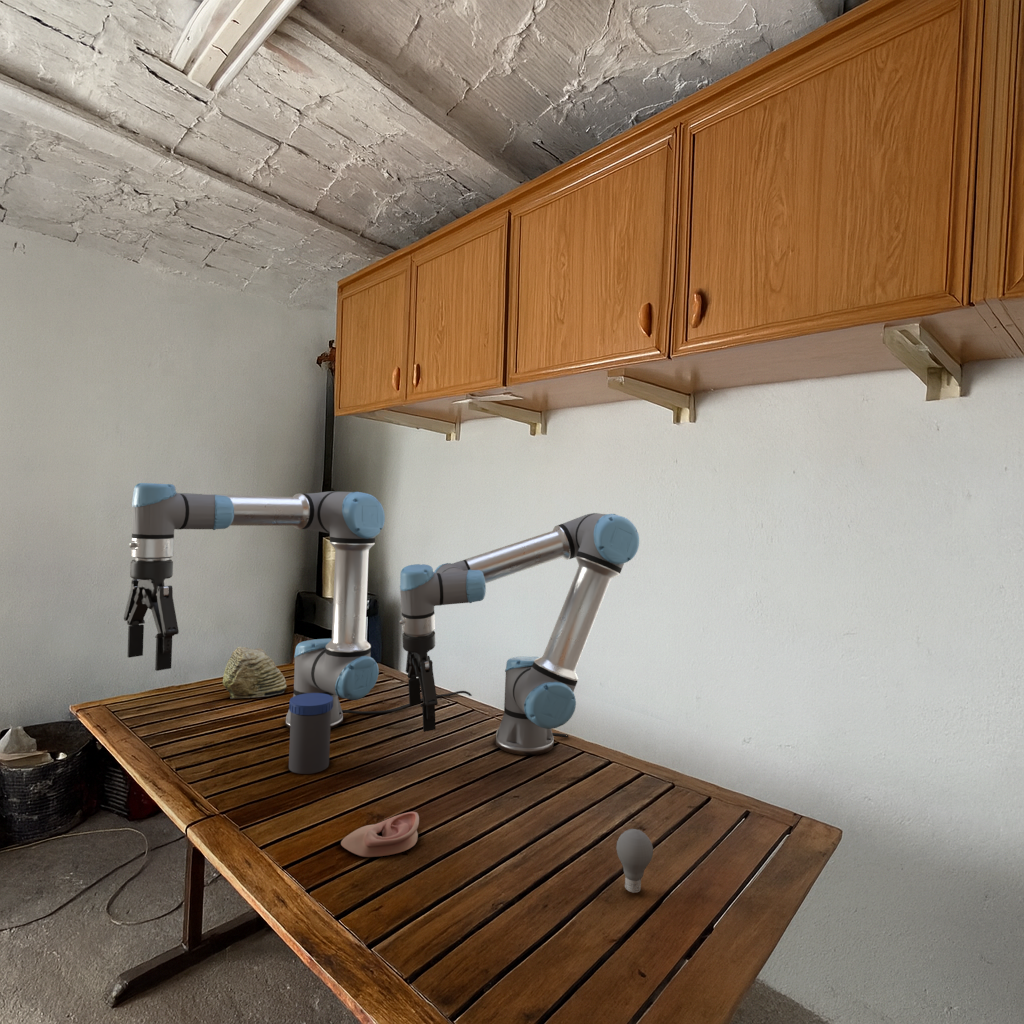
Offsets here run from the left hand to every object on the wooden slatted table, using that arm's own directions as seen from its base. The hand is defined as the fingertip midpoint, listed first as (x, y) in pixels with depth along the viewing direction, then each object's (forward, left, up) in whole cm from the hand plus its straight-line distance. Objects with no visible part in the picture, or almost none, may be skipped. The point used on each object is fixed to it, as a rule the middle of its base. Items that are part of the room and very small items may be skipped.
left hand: (148, 662), depth 129 cm
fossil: (-50, -47, -28) cm, 74 cm away
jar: (-32, +10, -28) cm, 44 cm away
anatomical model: (-22, +48, -28) cm, 60 cm away
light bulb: (-41, +90, -28) cm, 103 cm away
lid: (-32, +10, -13) cm, 36 cm away
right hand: (-50, +29, -16) cm, 60 cm away
